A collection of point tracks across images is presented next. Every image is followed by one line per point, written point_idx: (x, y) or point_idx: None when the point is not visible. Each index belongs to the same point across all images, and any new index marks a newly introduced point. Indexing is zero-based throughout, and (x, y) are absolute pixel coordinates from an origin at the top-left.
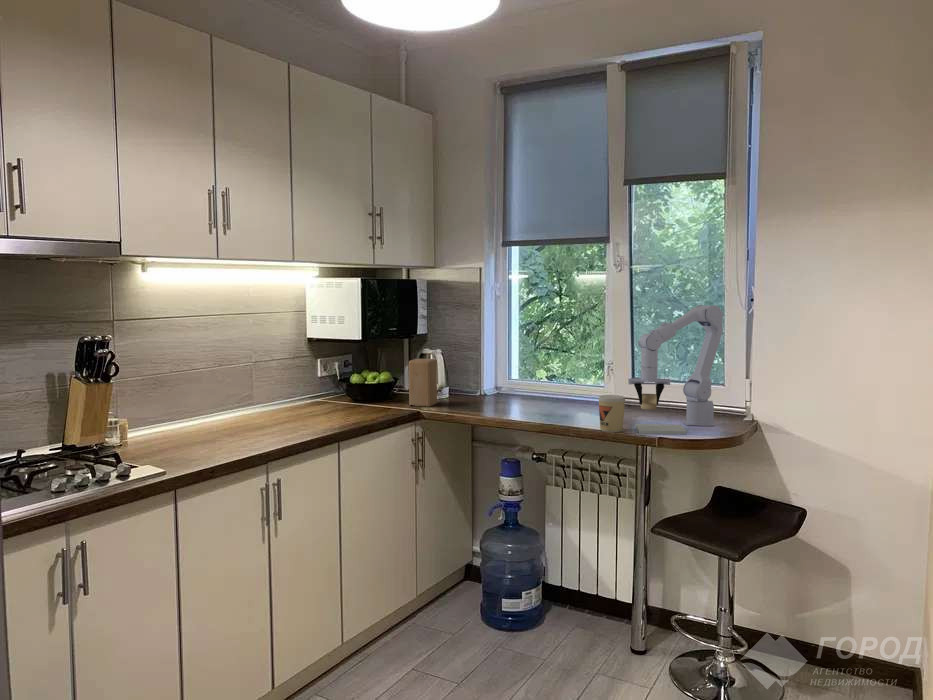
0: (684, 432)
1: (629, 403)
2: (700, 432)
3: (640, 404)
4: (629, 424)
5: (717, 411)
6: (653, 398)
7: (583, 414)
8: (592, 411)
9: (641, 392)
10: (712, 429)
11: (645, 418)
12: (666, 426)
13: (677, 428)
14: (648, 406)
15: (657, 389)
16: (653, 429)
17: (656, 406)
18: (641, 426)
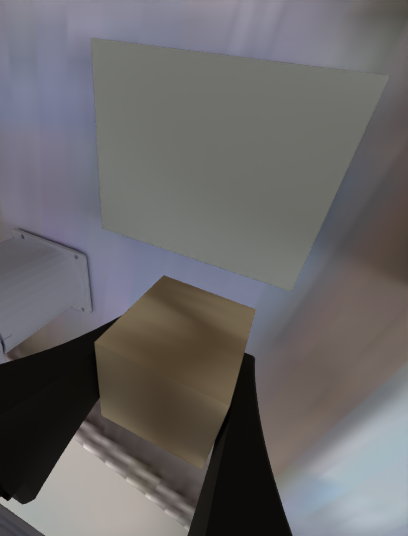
0: (106, 42)
1: (174, 501)
2: (49, 114)
3: (252, 356)
4: (287, 340)
5: None
6: (139, 334)
7: (366, 513)
8: (306, 514)
9: (227, 455)
10: (16, 177)
11: None
12: (164, 198)
13: (125, 136)
14: (207, 306)
15: (28, 397)
16: (261, 113)
17: (153, 285)
18: (292, 222)
